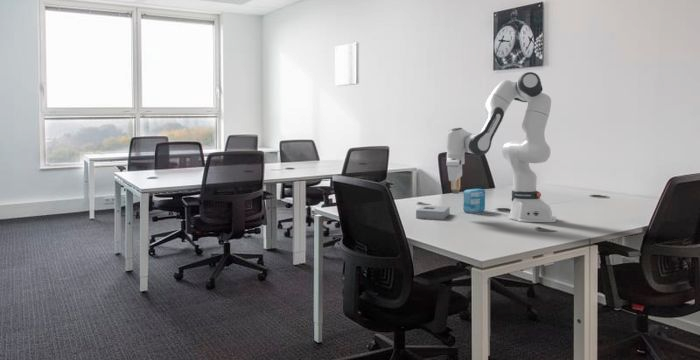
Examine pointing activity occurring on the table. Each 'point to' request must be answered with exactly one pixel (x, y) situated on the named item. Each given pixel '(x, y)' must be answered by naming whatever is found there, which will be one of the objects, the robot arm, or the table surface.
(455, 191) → the plug
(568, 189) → the table surface
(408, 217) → the table surface
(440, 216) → the socket box
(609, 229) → the table surface
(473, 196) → the data package
